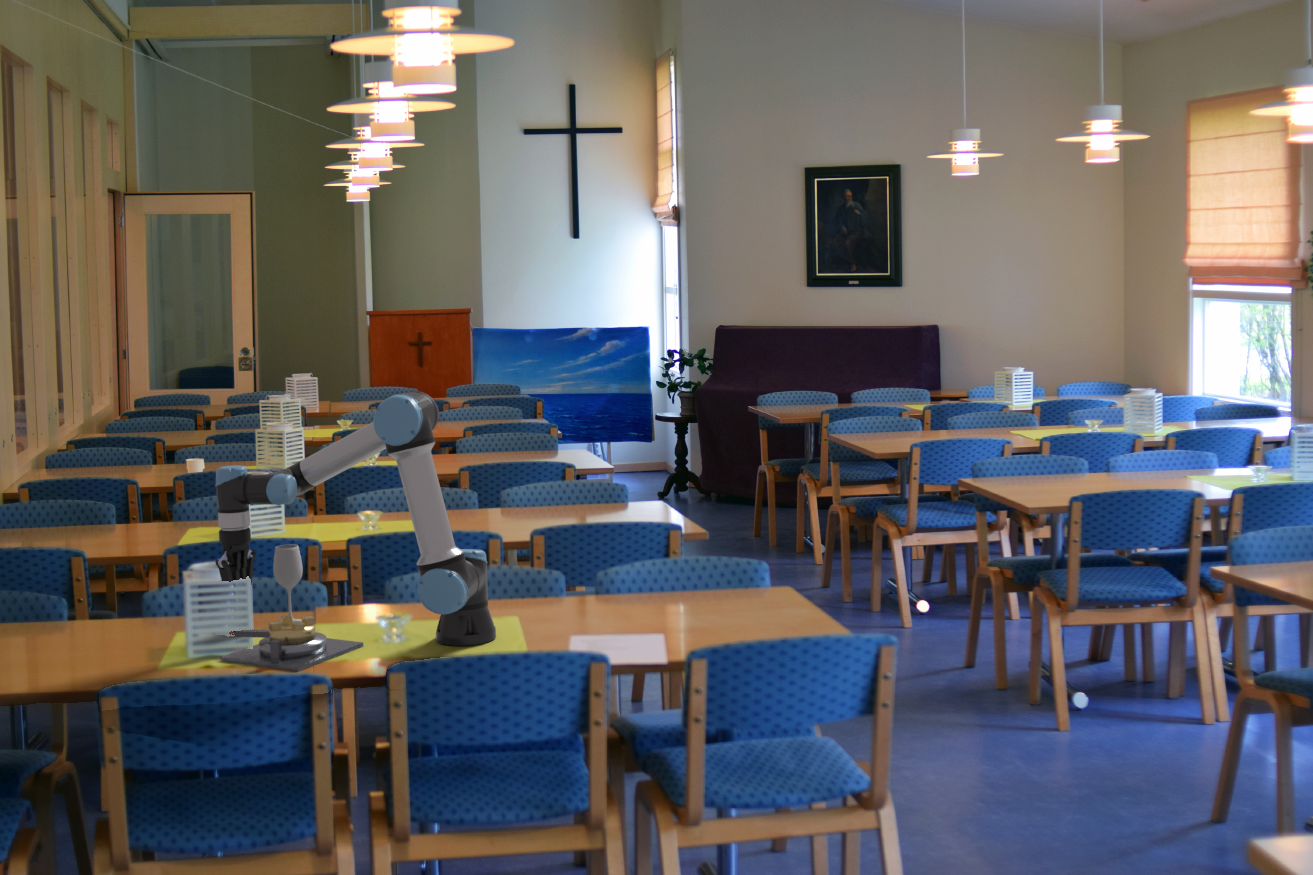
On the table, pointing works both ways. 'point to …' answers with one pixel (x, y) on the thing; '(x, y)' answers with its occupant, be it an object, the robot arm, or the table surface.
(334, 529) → the table surface
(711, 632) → the table surface
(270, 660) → the housing
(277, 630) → the tan handled round piece
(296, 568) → the wineglass
